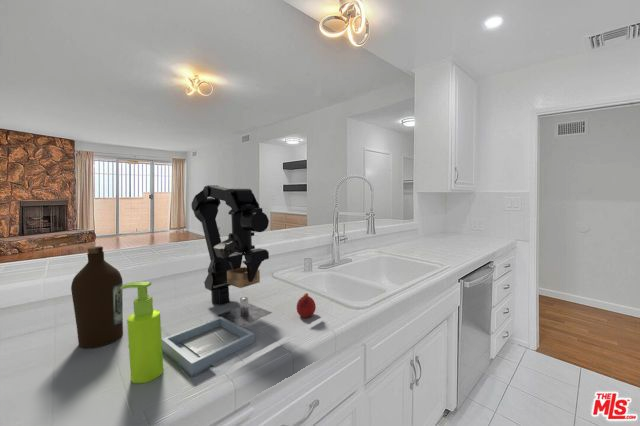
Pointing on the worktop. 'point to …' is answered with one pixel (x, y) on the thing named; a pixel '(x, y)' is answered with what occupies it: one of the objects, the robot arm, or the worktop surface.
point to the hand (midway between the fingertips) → (243, 279)
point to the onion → (306, 306)
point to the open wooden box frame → (241, 277)
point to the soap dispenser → (144, 336)
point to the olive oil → (97, 301)
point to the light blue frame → (200, 364)
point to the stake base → (246, 318)
